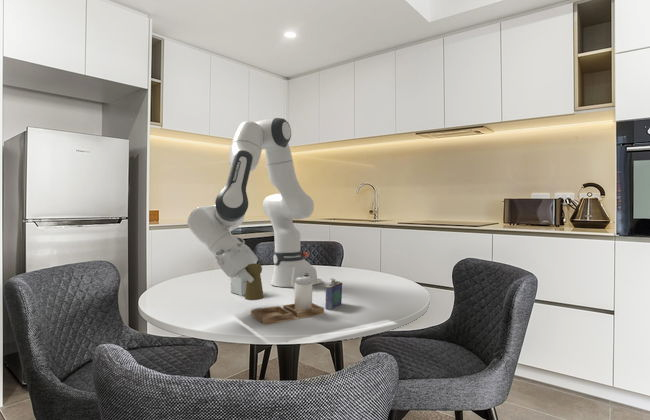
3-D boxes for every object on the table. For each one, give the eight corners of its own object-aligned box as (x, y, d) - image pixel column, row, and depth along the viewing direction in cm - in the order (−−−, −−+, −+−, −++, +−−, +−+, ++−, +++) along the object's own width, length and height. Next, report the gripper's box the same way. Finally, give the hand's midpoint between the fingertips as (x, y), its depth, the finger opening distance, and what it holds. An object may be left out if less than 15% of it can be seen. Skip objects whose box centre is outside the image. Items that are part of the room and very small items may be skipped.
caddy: (307, 309, 134) (307, 300, 134) (325, 318, 125) (325, 308, 125) (249, 319, 123) (249, 309, 123) (265, 329, 114) (265, 319, 113)
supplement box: (230, 292, 157) (230, 260, 156) (245, 289, 162) (245, 258, 162) (241, 296, 152) (241, 262, 151) (256, 292, 157) (257, 260, 157)
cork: (267, 296, 131) (266, 263, 130) (256, 301, 125) (256, 266, 125) (251, 294, 133) (251, 261, 133) (240, 299, 128) (240, 264, 127)
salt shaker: (306, 307, 130) (306, 275, 130) (315, 312, 126) (315, 278, 125) (291, 310, 127) (291, 277, 127) (300, 314, 123) (300, 280, 122)
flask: (330, 314, 128) (330, 281, 128) (322, 313, 130) (322, 280, 129) (343, 308, 136) (343, 276, 136) (335, 306, 138) (335, 275, 137)
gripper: (219, 246, 119) (251, 279, 118) (243, 237, 139) (271, 266, 138) (205, 260, 120) (237, 294, 119) (232, 250, 140) (259, 278, 139)
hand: (255, 279), depth 129 cm, fingers closed on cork, 4 cm apart
